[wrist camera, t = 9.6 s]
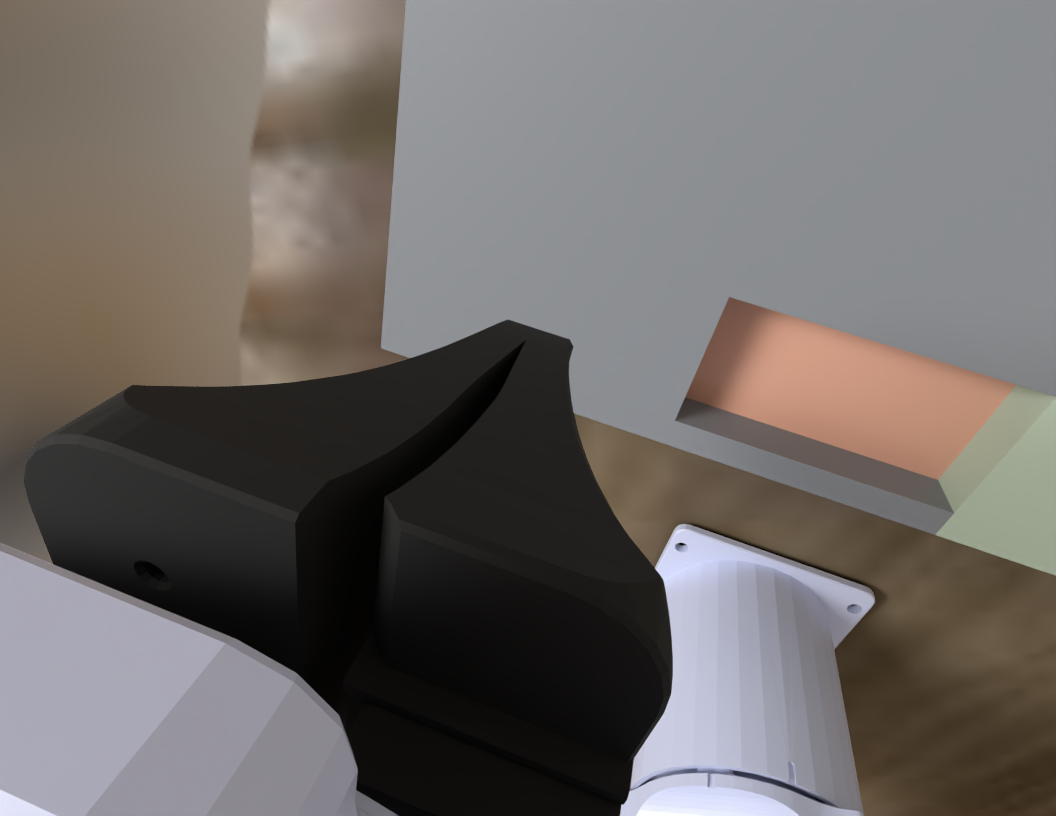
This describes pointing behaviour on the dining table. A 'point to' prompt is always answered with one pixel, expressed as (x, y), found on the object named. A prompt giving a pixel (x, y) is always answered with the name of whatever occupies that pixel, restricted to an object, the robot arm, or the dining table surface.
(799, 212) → the board
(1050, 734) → the dining table surface
